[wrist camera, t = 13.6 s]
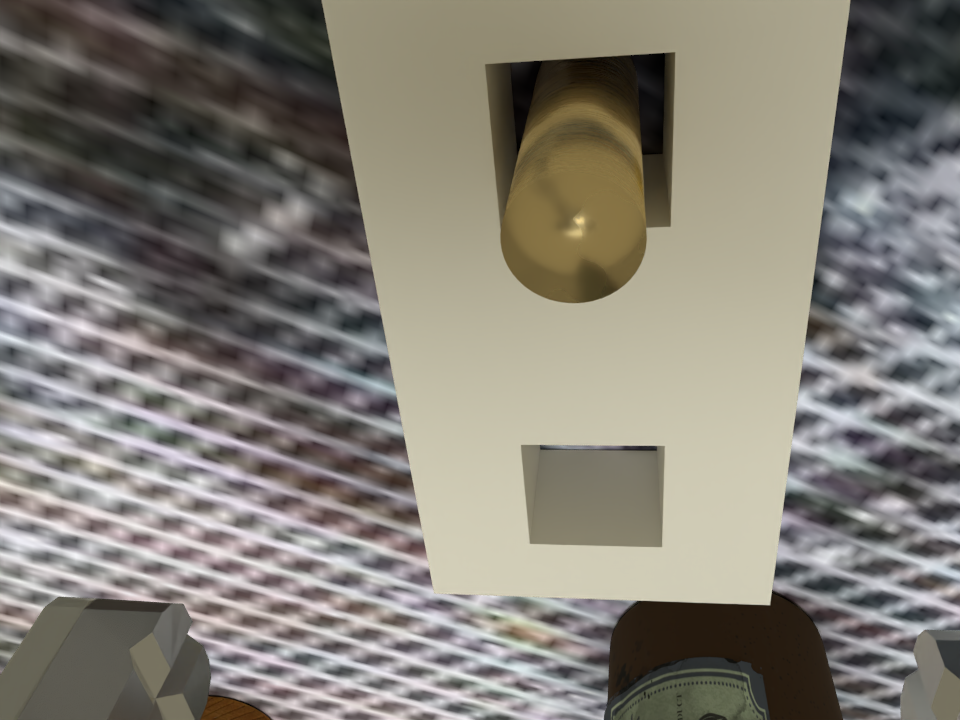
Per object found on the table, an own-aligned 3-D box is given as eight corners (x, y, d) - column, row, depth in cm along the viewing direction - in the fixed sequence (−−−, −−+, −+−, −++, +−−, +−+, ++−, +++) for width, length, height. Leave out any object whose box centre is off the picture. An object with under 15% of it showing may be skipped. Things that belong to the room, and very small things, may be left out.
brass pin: (533, 37, 26) (494, 175, 18) (637, 30, 25) (647, 169, 17) (539, 136, 27) (506, 304, 19) (637, 131, 27) (646, 302, 19)
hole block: (363, -82, 24) (312, -47, 20) (818, -124, 22) (862, -94, 18) (454, 499, 37) (434, 593, 33) (752, 504, 35) (770, 605, 31)
